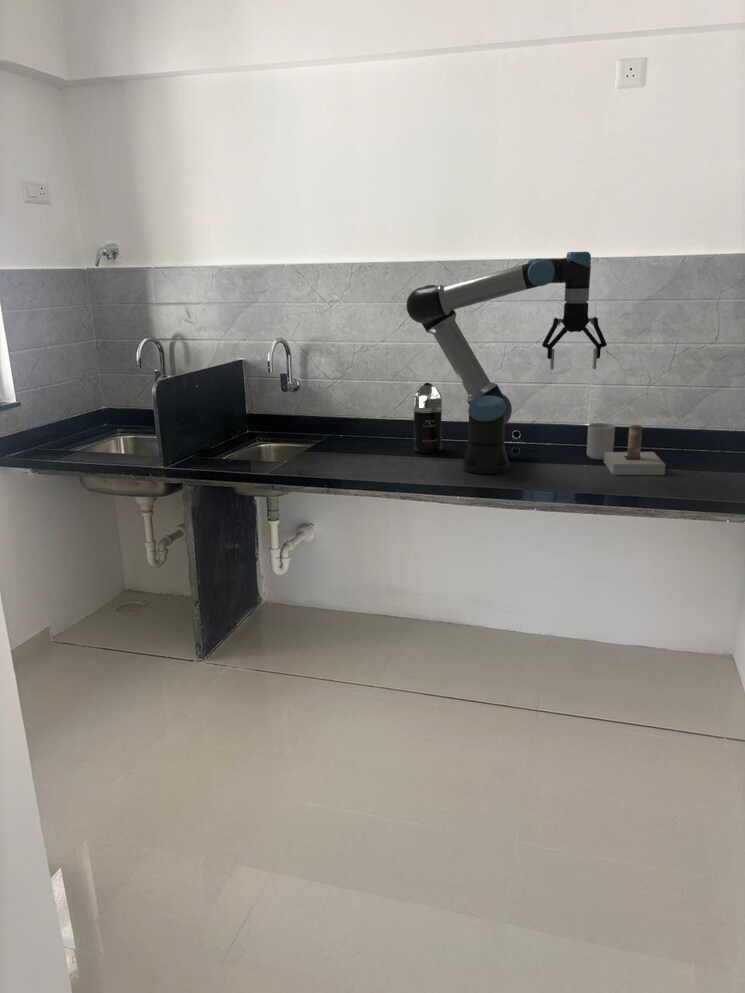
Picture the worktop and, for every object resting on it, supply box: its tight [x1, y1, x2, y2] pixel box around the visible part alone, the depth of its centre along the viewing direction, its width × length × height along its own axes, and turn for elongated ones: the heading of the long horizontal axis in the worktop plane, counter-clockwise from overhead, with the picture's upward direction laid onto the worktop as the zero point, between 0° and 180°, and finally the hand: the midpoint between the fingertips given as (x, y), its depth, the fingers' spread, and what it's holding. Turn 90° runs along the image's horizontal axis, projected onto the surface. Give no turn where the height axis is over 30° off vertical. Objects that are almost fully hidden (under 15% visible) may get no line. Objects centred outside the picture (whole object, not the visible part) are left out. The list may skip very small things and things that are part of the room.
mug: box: [586, 422, 616, 461], centre depth 271 cm, size 12×9×11 cm
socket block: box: [603, 451, 666, 476], centre depth 256 cm, size 16×16×4 cm
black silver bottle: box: [413, 382, 443, 454], centre depth 281 cm, size 10×10×25 cm
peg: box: [626, 424, 643, 460], centre depth 254 cm, size 4×4×14 cm
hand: (572, 368), depth 256 cm, fingers open, 13 cm apart
